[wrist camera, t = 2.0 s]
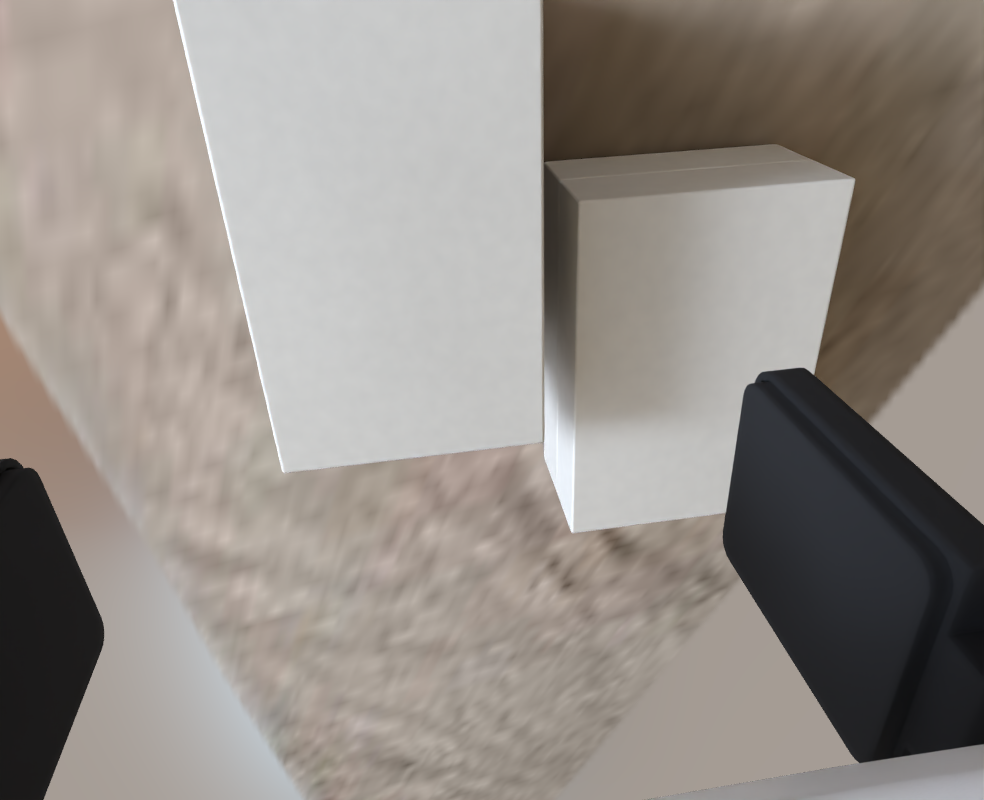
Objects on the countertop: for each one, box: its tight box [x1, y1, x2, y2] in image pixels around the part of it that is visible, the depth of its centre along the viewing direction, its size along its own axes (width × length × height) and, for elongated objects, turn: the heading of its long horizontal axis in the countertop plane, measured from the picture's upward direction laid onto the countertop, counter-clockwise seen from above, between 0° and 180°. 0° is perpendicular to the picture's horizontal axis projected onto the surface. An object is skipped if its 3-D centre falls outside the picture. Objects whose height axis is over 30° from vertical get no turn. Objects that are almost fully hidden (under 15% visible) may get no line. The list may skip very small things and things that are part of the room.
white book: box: [173, 0, 545, 473], centre depth 18 cm, size 11×7×2 cm, turn 2°
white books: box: [544, 144, 855, 533], centre depth 24 cm, size 11×8×4 cm
